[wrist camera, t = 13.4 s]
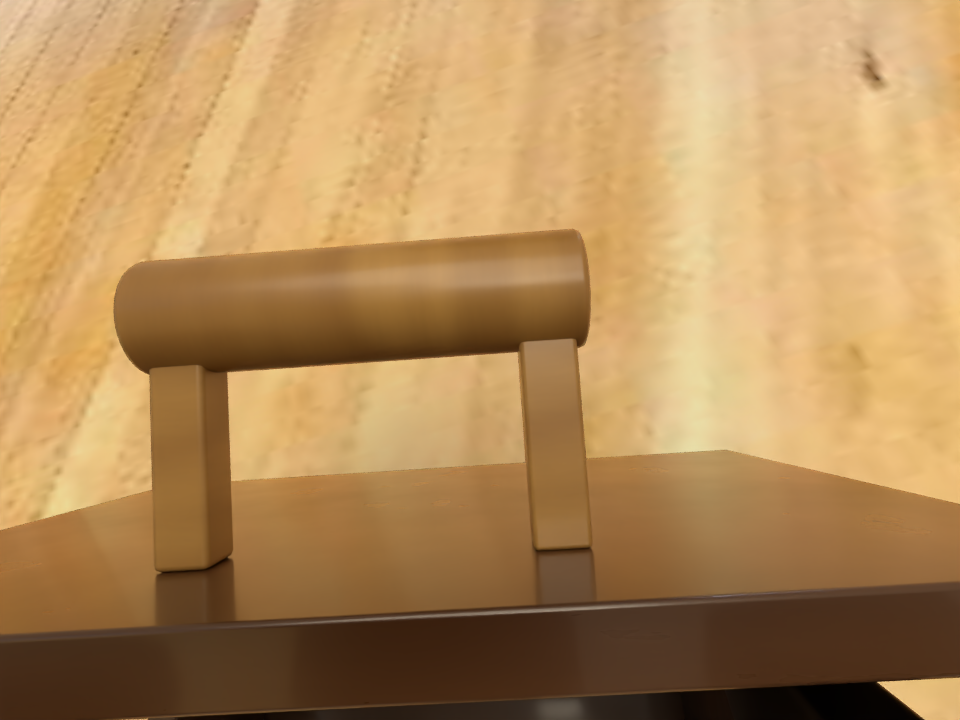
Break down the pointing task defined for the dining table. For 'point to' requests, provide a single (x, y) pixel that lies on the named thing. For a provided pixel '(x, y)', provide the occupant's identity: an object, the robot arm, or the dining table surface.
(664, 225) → the dining table surface
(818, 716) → the robot arm
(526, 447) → the brown box lid
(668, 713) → the brown wooden box
